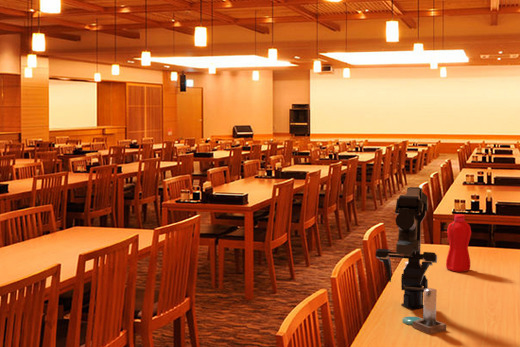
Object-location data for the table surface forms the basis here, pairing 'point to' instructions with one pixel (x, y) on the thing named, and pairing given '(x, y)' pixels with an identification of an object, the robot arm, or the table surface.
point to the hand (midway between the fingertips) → (404, 283)
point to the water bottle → (458, 244)
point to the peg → (429, 307)
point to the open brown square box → (427, 329)
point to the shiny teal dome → (410, 320)
